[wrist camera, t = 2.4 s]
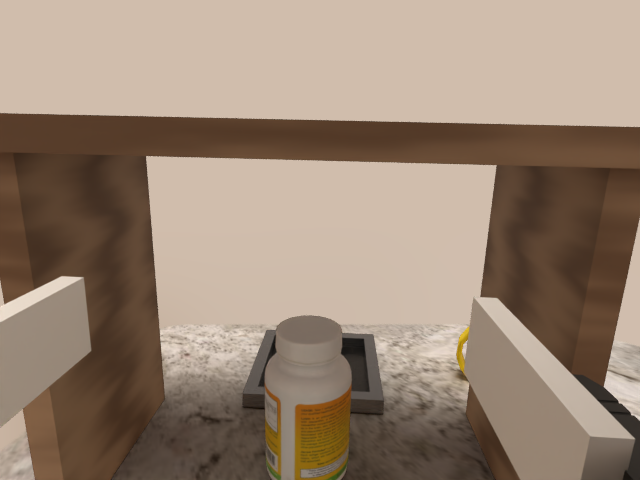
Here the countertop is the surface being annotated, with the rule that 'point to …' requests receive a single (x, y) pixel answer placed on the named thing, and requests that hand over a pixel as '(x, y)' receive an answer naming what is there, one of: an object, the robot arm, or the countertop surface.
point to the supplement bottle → (307, 402)
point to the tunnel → (294, 144)
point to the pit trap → (355, 351)
